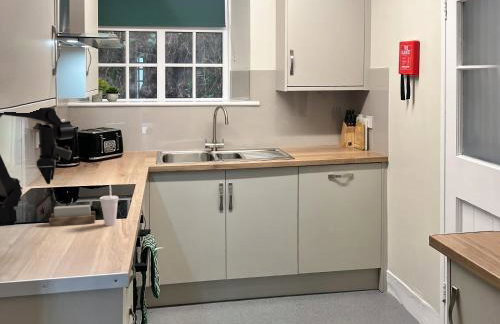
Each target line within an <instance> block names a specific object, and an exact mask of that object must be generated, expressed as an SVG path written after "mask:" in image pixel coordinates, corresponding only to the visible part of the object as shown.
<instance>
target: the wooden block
mask: <svg viewBox="0 0 500 324" xmlns="http://www.w3.org/2000/svg"><path fill="white" fill-rule="evenodd" d="M90 212H91V215H90V216H74V217H59V218H55V217H54V213H51V214H50V217H49V219H48V223H49V224H48V225H49V227H57V226H73V225H87V224H88V225H89V224H95V223H96V211H95V210H93V211H91V210H90Z"/></svg>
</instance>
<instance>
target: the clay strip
mask: <svg viewBox="0 0 500 324" xmlns="http://www.w3.org/2000/svg"><path fill="white" fill-rule="evenodd" d="M90 211H91V204H80V205H79V204H78V205H61V206H60V205H59V206H54V208H53V214H54V217H55V218H59V217H74V216H90V215H91V212H90Z"/></svg>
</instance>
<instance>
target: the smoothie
mask: <svg viewBox="0 0 500 324" xmlns="http://www.w3.org/2000/svg"><path fill="white" fill-rule="evenodd" d="M111 185H112V184H109V186H108V187H109V195H103V196H101V197H99V201H100V205H101V209H102V210H101V211H102V217H103V221H104V226H106V227H111V226H112V227H113V226H116V225H117V215H118V201H119V196H118V195H112V186H111Z"/></svg>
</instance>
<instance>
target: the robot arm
mask: <svg viewBox="0 0 500 324" xmlns="http://www.w3.org/2000/svg"><path fill="white" fill-rule="evenodd" d="M42 107H43V106H42ZM2 116H8V117H9V116H10V117H18V118H26V119H29V120H32V121H35V122H37V123H36V124H35V125H34V126H33V127H32V130H35V131H36V130H37V131H38V142H39V143H38V148H39V156H38V157H39V158H38V159H37V160H36V161H35V162H36V163H35V164H36V167H37V169H38V170H39V173H40V174H41V175H42V177H43V179H44V181H45V183H46V184H47V185H50V184H51V181H52V180H54V178H55V177H54V176H55V170H56V166H57V165H58V164H59V162H60V160H61V158H62V159H64V160H65V161H69V160H71V156H72V153H73V151H72V150H71V148H70V146H68V145H64V146H63V147H61V146H58V143H57V142H56V140H57V141H59V140H60V141H61V140H68V139H73V137H75V129H74V126H73V125H72V124H71V121H69V120H65V121H62V120H61V118H60V117H59V116H58V114H57V112H56V110H55V108H53V107H43V108H40V109H39V110H36V111H33V112H30V113H16V112H4V113H0V118H2ZM20 183H21V182H20V180H19V179H18V178H15V177H11V175H10V173H9V170H8V169H7V167H6V164H5V162H4V160H3V157H2V155H1V154H0V226H6V225H7V226H10V225H15V224H16V223H17V221H18V220H19V215H18V213H19V212H18V208H16V207H18V206H19V202H20V199H21V198H22V195H23V191H22V190H23V189H24V188H23V187H22V186H21V184H20Z"/></svg>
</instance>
